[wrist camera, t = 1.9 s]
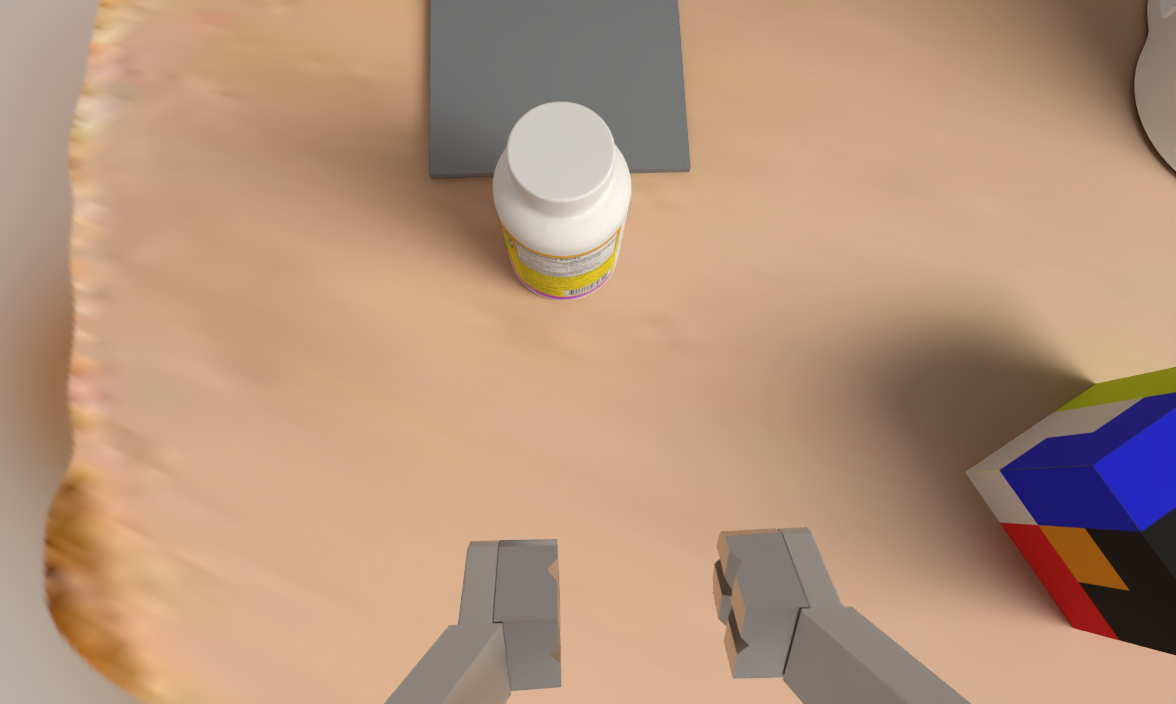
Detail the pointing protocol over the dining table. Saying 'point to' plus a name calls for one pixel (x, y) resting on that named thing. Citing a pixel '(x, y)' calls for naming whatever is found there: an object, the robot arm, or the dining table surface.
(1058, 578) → the puzzle toy
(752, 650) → the robot arm
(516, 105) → the mat
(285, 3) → the dining table surface
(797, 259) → the dining table surface
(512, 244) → the supplement bottle
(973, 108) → the dining table surface
